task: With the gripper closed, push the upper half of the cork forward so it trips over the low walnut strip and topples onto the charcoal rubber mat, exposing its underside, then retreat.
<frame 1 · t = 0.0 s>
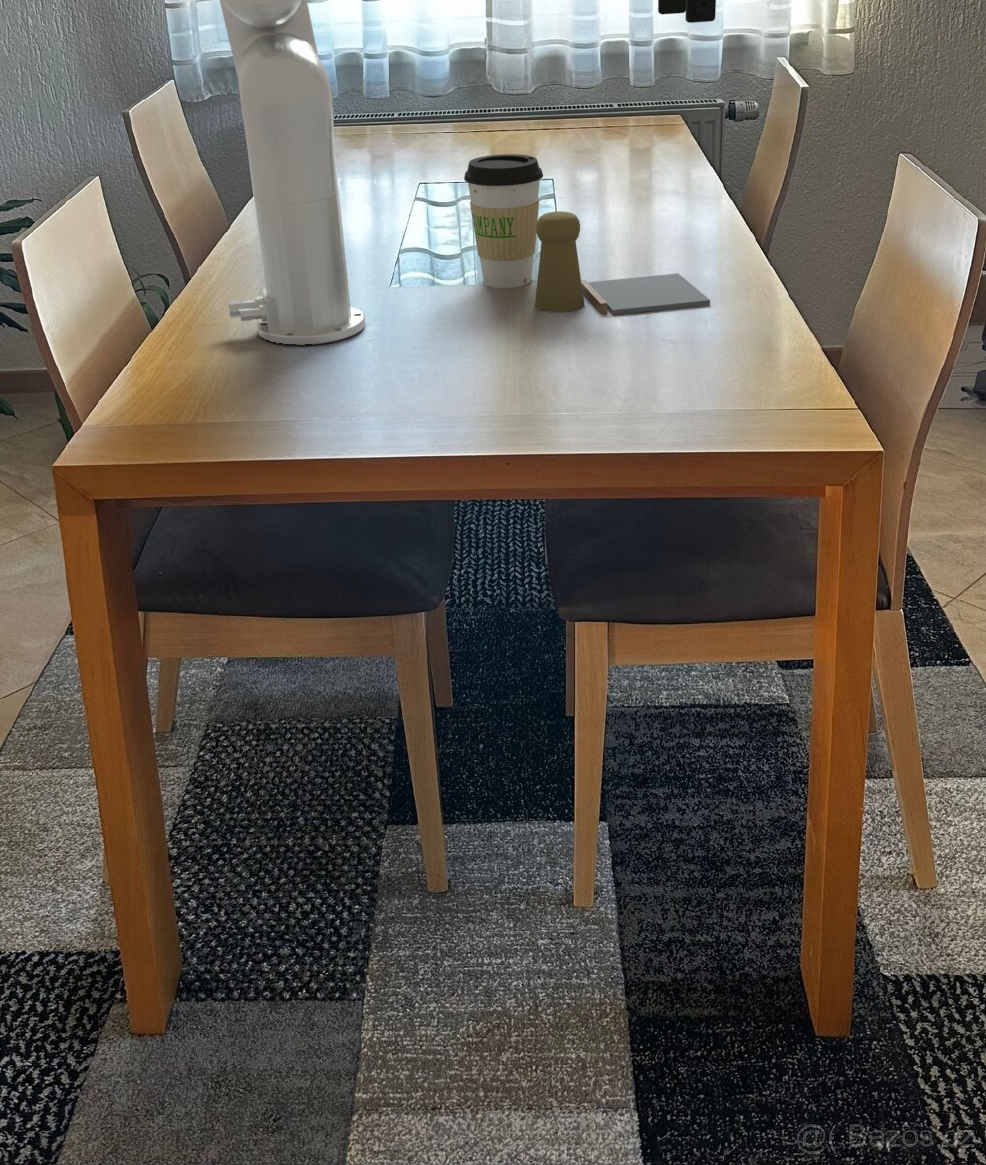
hand: (685, 17, 143), 31 cm above the table, fingers open, 9 cm apart
charcoal mat: (646, 295, 158), on the table
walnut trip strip: (593, 301, 157), on the table
cork: (559, 306, 156), on the table
coffee cup: (507, 282, 166), on the table
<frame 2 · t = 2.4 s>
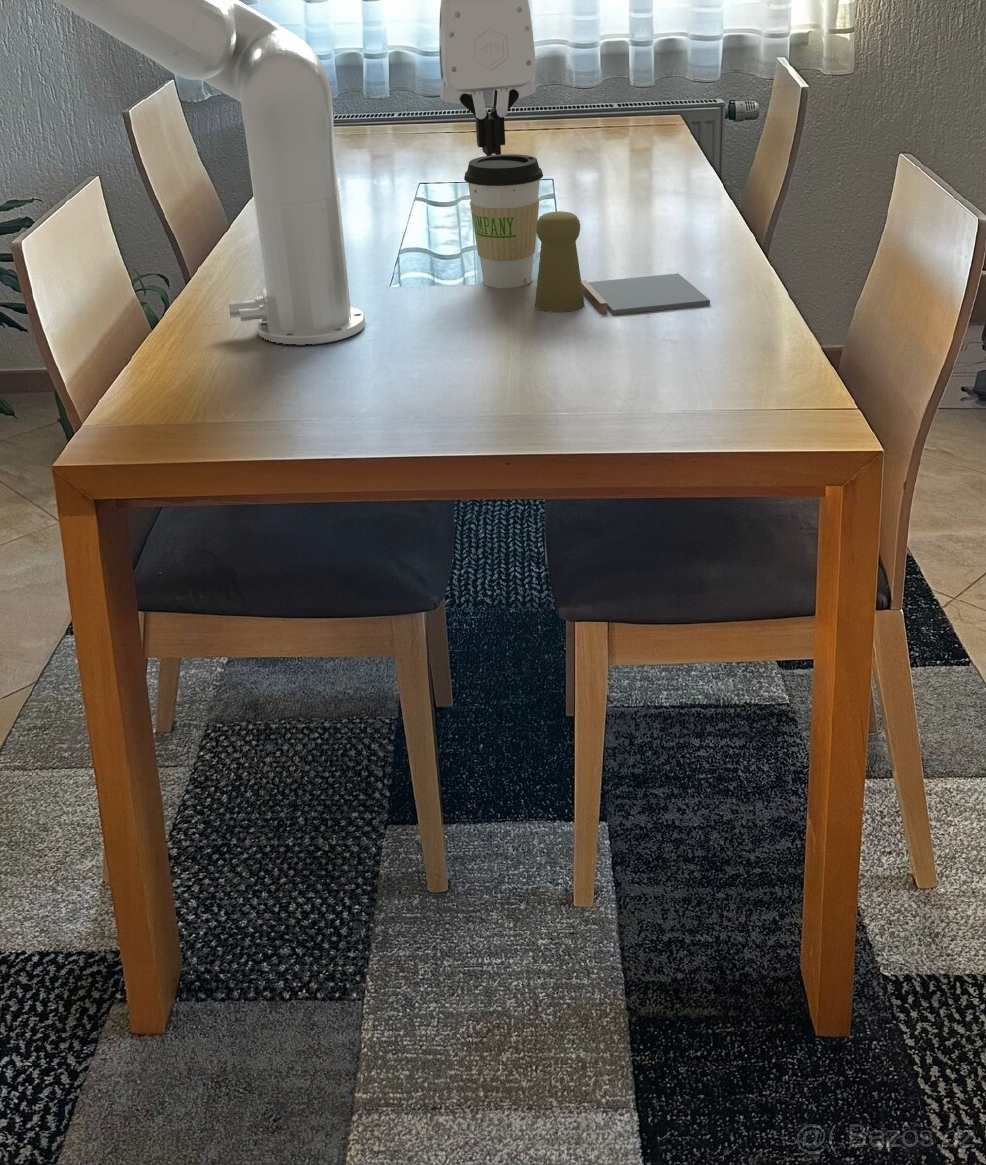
hand: (491, 152, 146), 18 cm above the table, fingers closed
nothing on the table moved.
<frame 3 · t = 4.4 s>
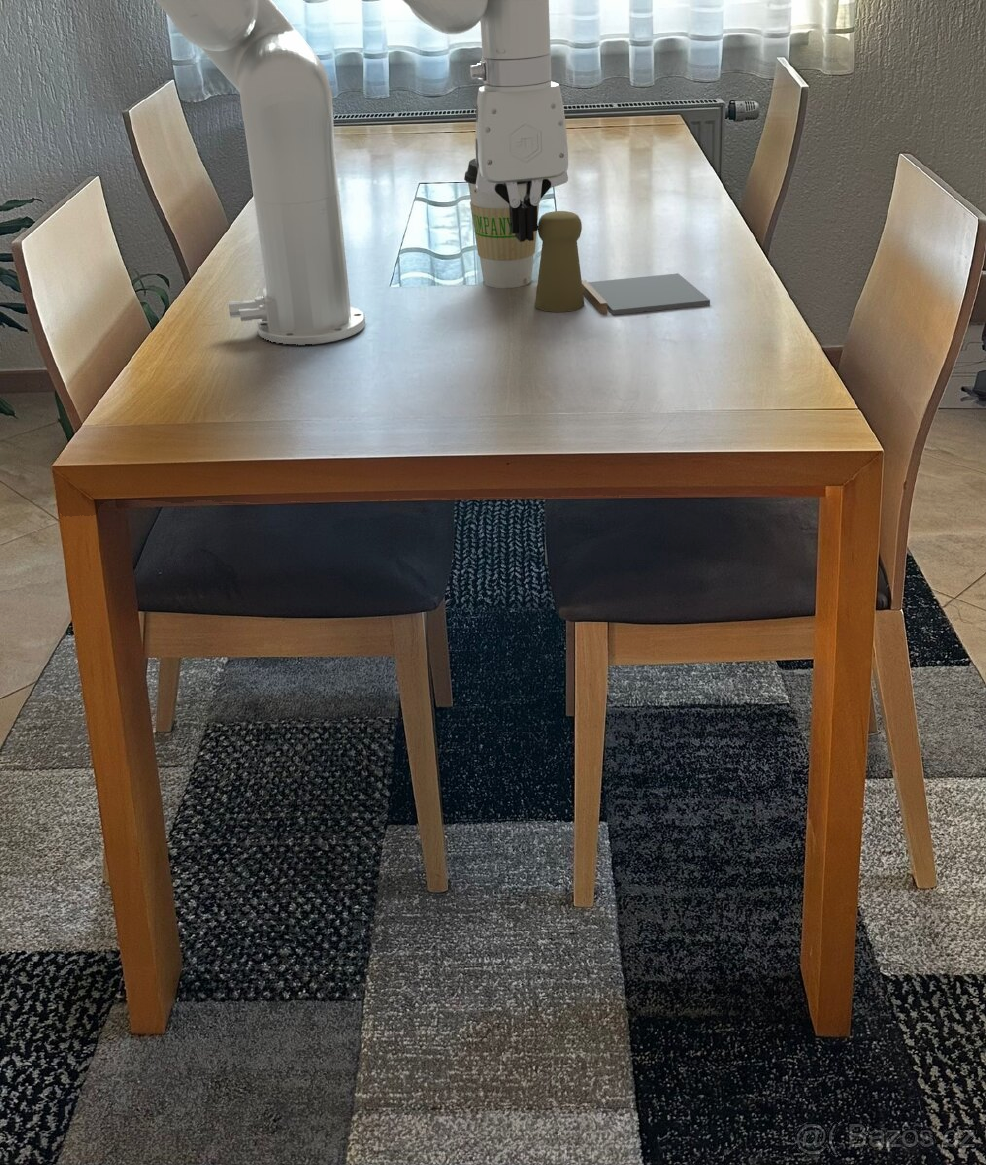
hand: (524, 238, 152), 8 cm above the table, fingers closed
cork: (559, 305, 156), on the table, touching gripper
everything else where it was.
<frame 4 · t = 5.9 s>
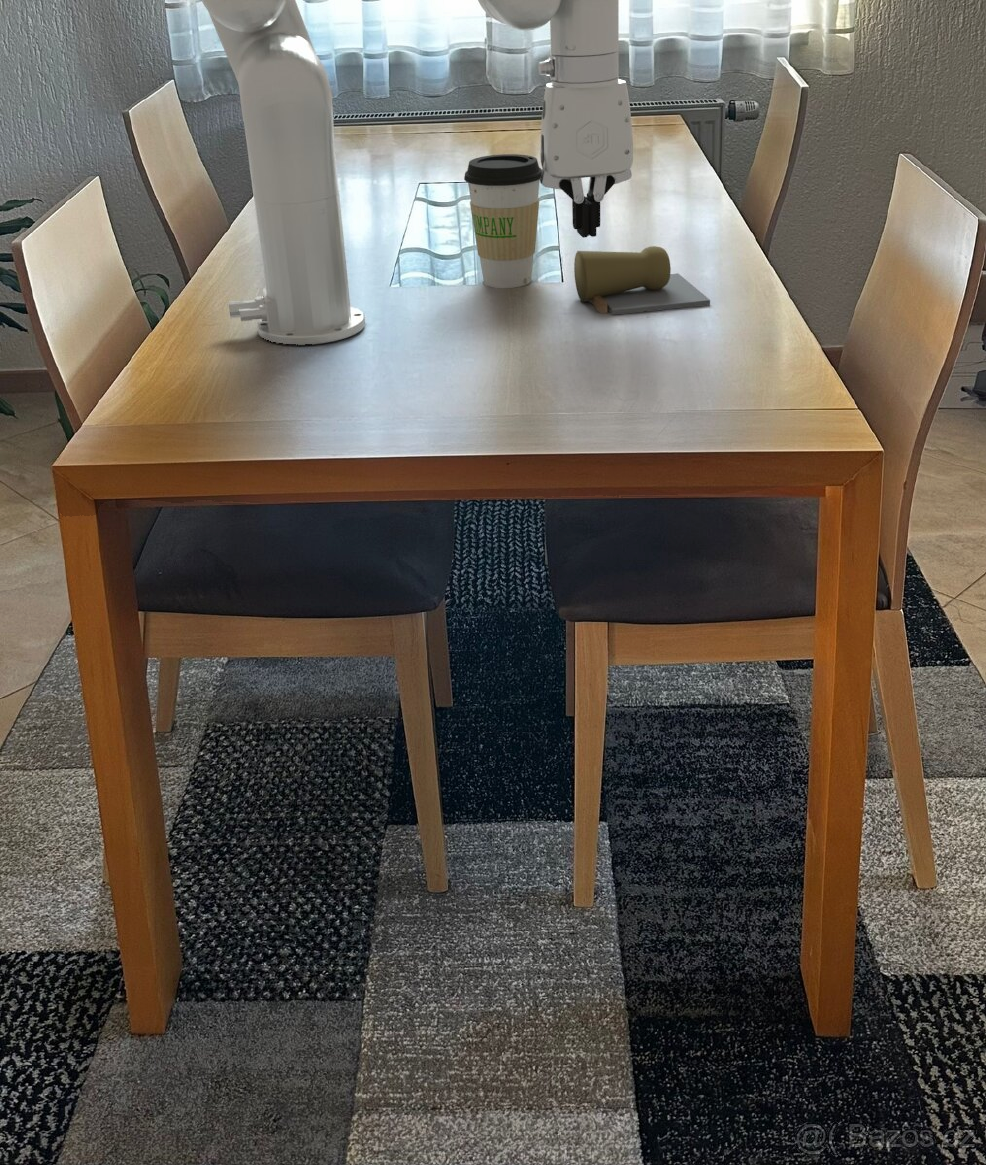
hand: (586, 233, 153), 8 cm above the table, fingers closed
cork: (578, 276, 155), point 3 cm above the table, touching charcoal mat
everything else where it was.
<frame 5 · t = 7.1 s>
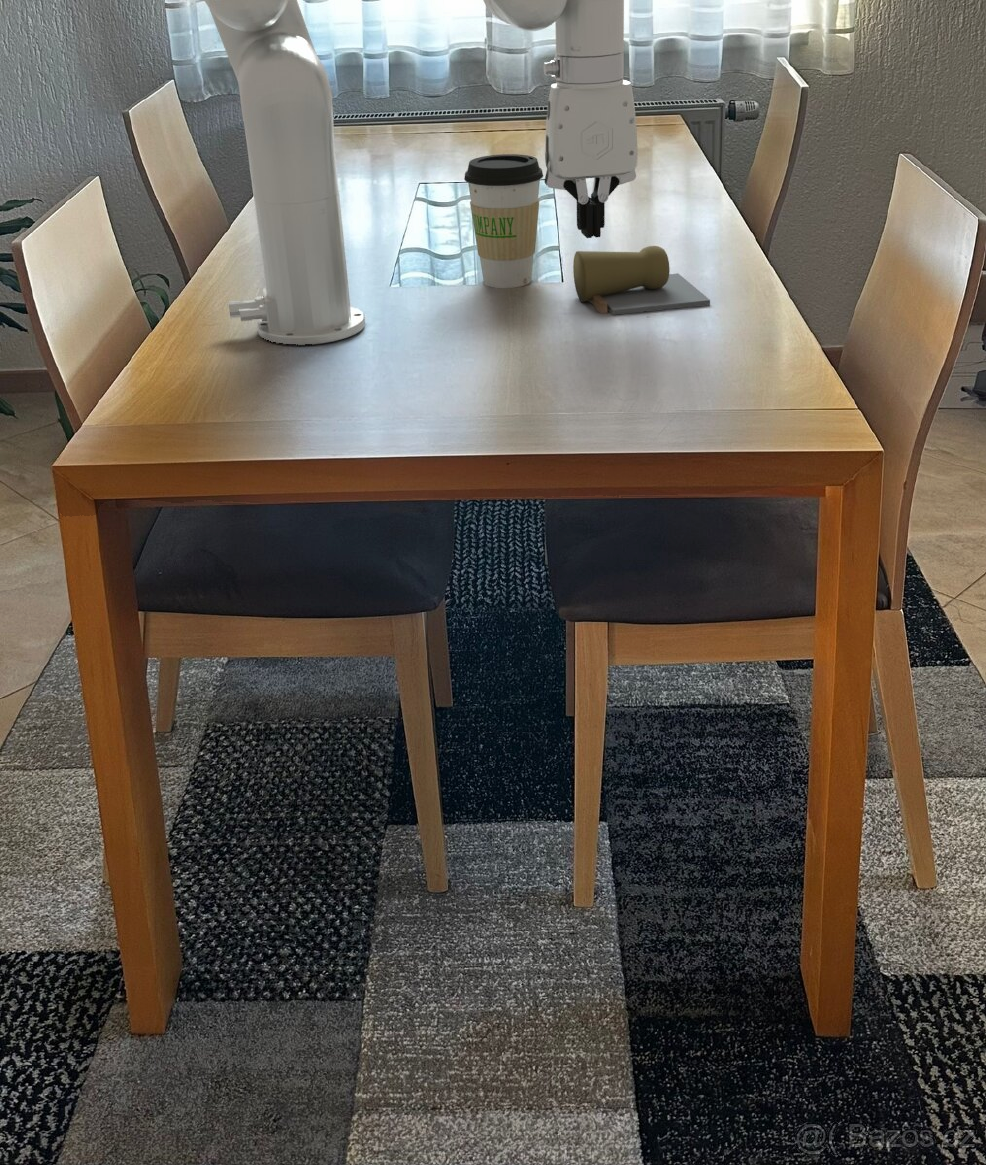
hand: (590, 234, 153), 8 cm above the table, fingers closed
cork: (578, 276, 156), point 3 cm above the table, touching charcoal mat, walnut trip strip
everything else where it was.
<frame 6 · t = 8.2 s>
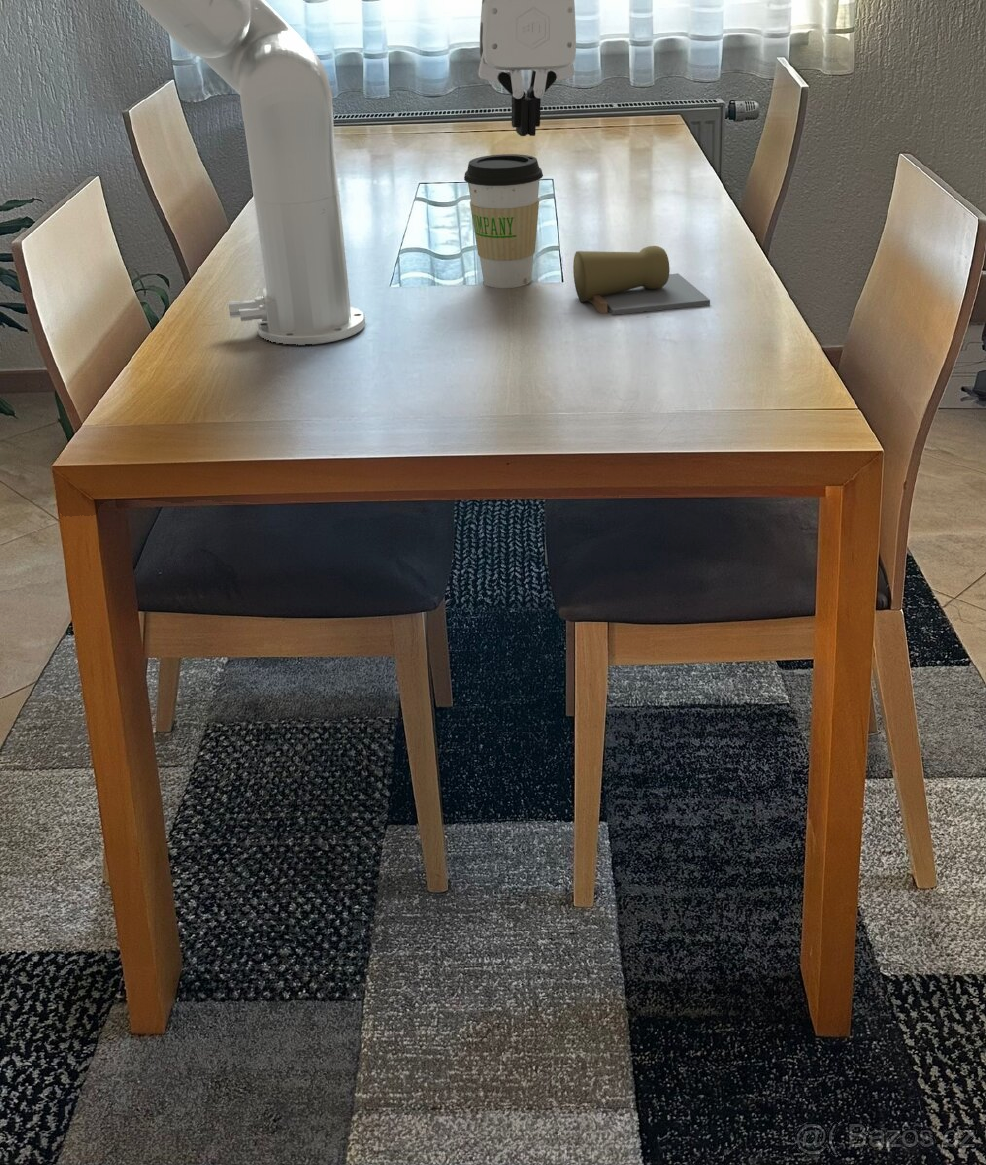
hand: (525, 133, 146), 20 cm above the table, fingers closed
nothing on the table moved.
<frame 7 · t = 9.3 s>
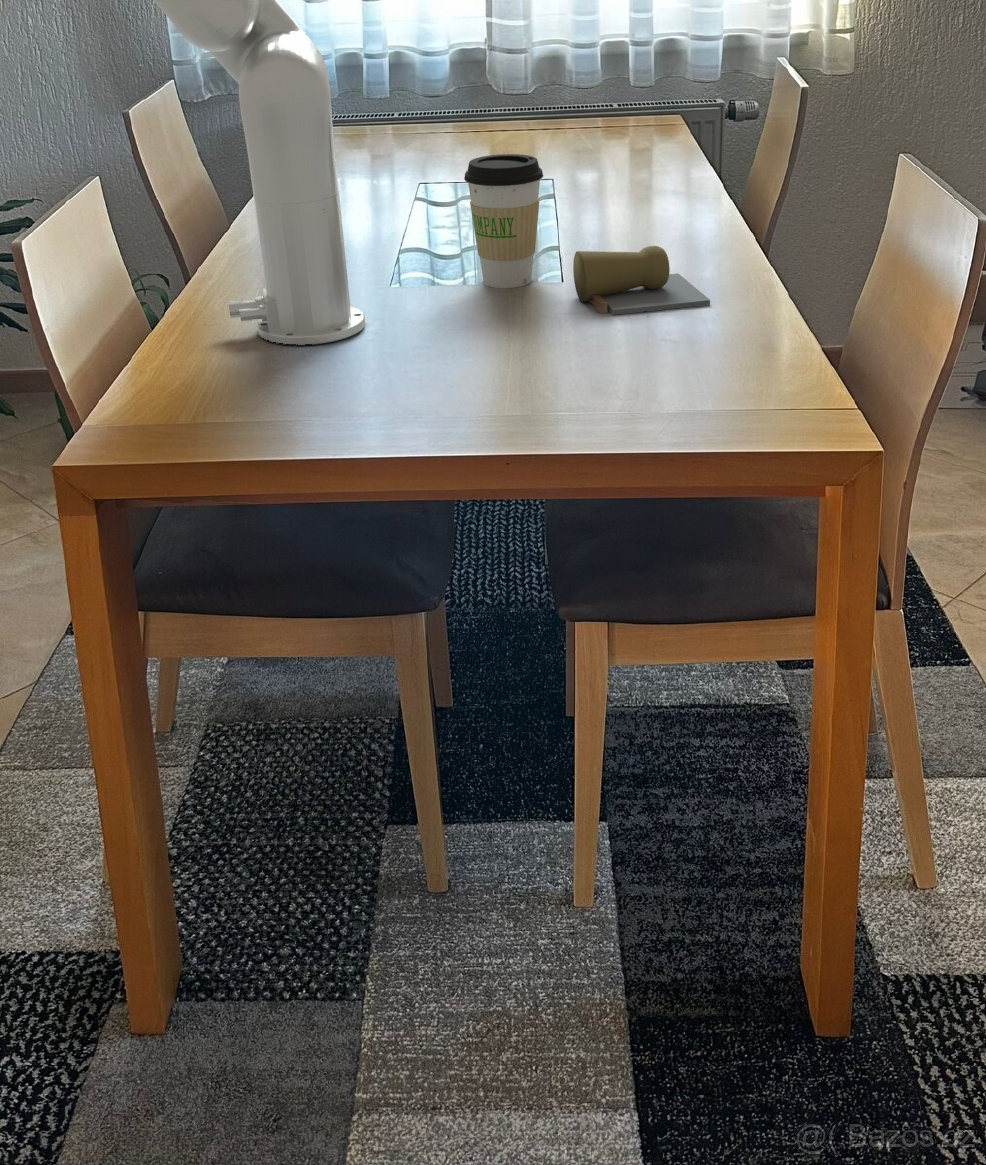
nothing on the table moved.
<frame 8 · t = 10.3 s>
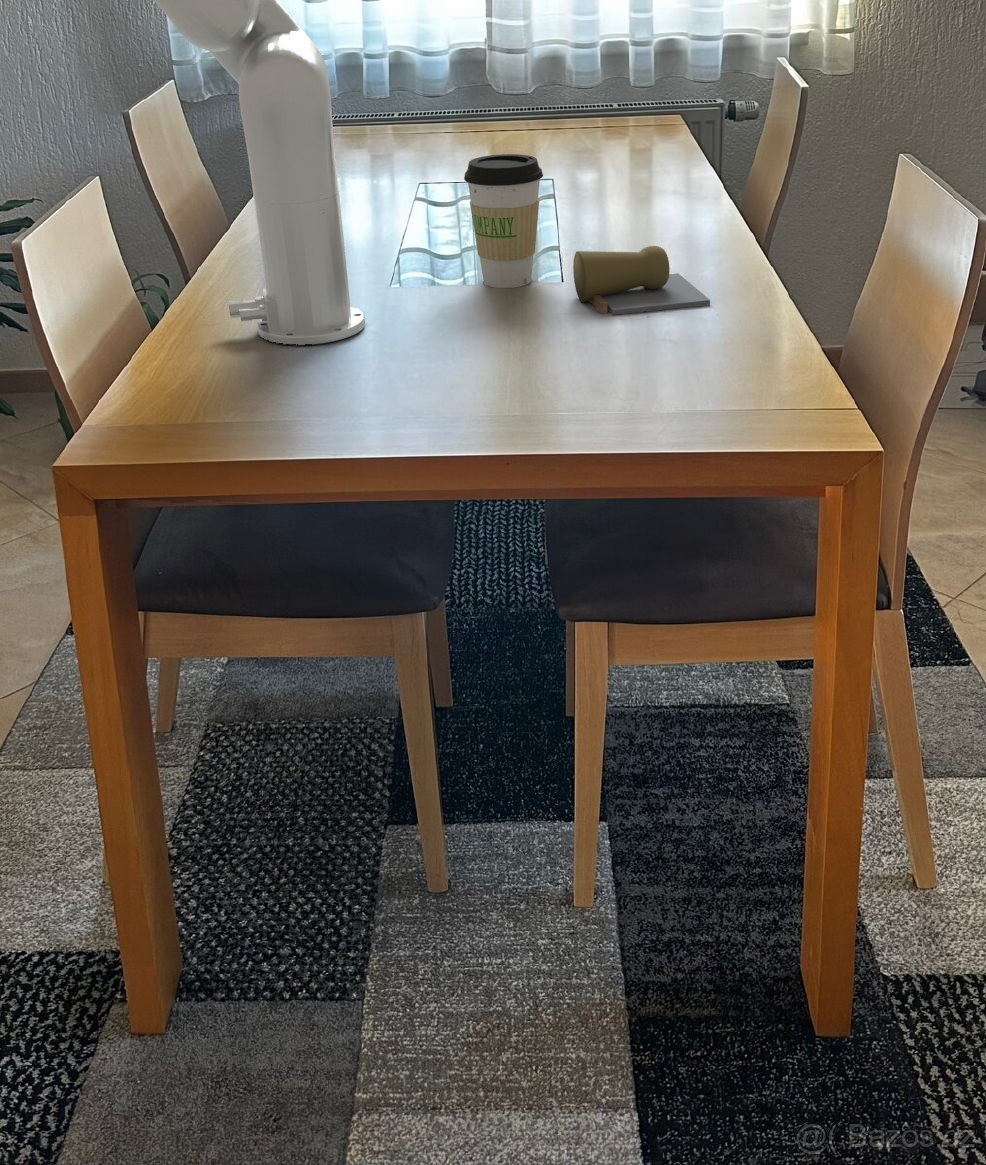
nothing on the table moved.
at the end: cork tilted 89°; cork inside the target area (8.5 cm from its centre), point 3.0 cm above the table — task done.
